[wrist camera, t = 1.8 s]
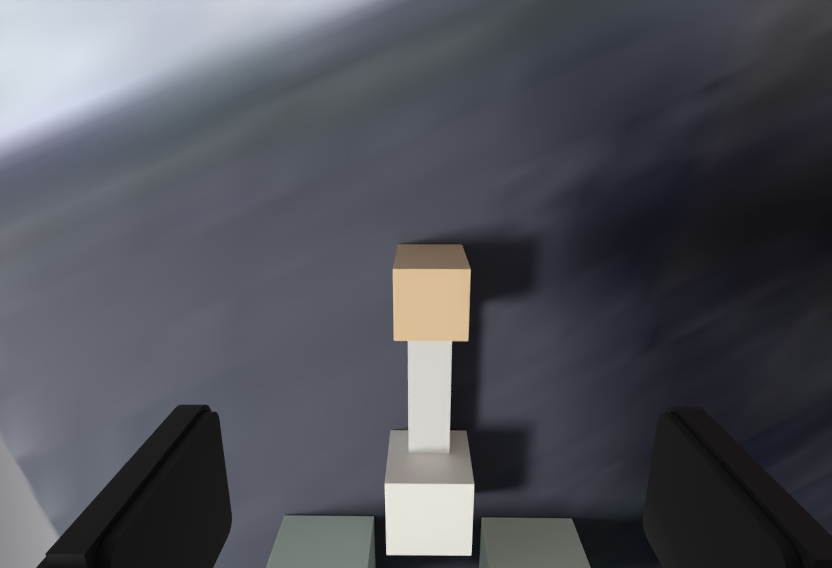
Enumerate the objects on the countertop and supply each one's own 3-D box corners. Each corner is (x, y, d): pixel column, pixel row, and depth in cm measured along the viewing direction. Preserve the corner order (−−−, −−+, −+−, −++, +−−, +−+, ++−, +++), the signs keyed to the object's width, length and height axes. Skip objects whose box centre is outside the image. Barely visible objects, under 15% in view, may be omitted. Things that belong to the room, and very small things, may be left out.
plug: (387, 244, 24) (379, 268, 20) (472, 244, 24) (483, 269, 19) (391, 493, 28) (386, 558, 24) (464, 494, 28) (471, 559, 24)
